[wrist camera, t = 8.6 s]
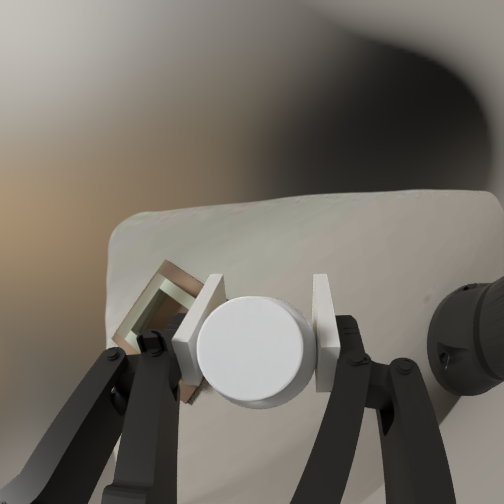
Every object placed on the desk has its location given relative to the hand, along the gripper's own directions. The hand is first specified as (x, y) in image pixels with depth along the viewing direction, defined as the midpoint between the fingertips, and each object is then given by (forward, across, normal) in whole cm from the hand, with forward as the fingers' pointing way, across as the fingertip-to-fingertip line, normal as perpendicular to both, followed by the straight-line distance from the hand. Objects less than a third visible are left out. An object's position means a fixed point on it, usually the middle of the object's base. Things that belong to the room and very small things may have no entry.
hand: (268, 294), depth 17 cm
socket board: (+13, -14, -13) cm, 23 cm away
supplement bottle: (0, 0, -5) cm, 5 cm away
